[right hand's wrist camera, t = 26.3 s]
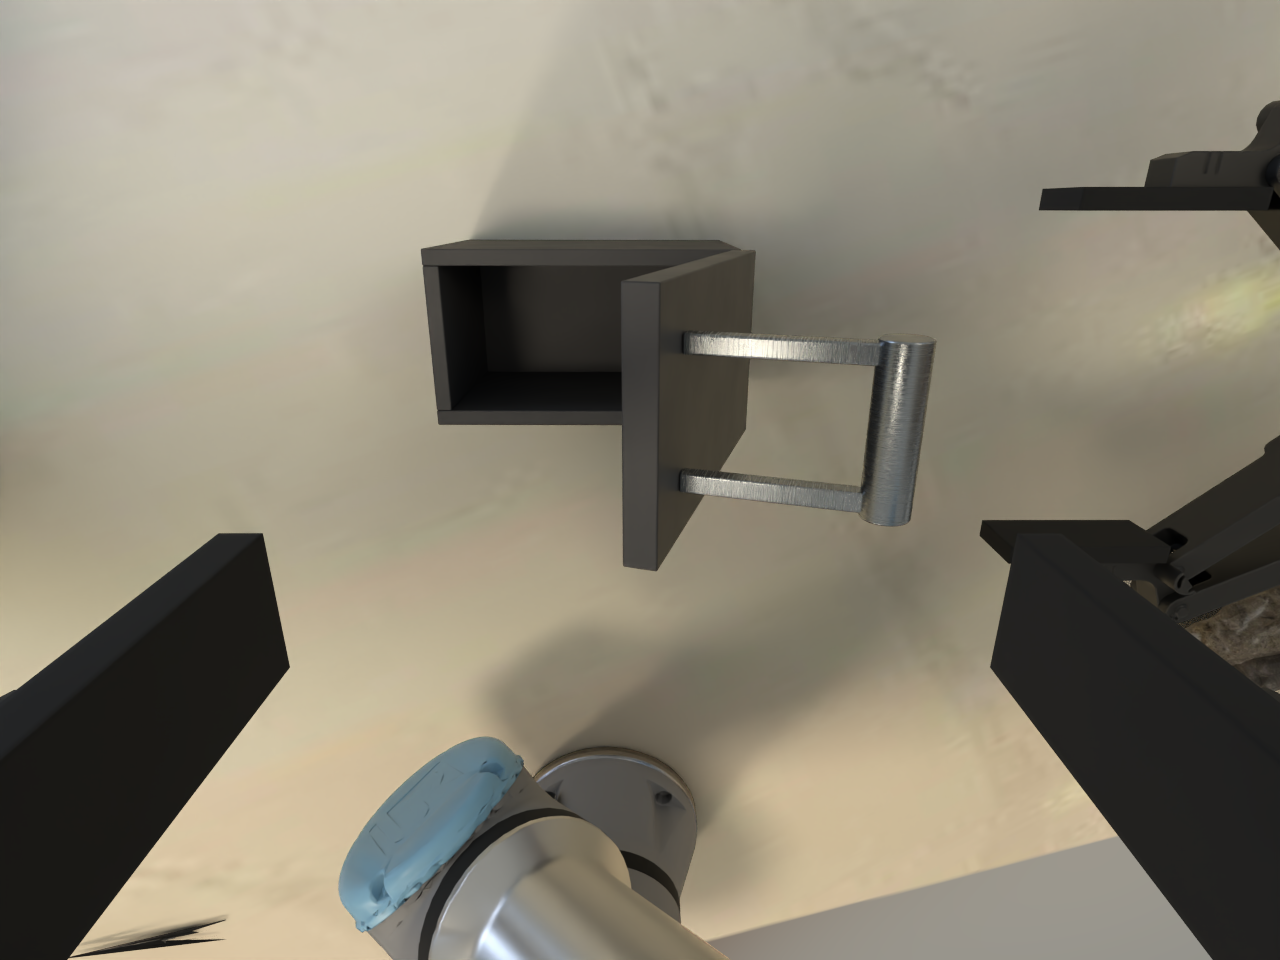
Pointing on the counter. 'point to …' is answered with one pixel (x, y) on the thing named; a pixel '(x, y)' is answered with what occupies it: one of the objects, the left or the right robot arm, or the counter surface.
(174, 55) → the counter surface
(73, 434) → the counter surface
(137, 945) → the feather
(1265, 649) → the fossil
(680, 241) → the chest
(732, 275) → the lid
